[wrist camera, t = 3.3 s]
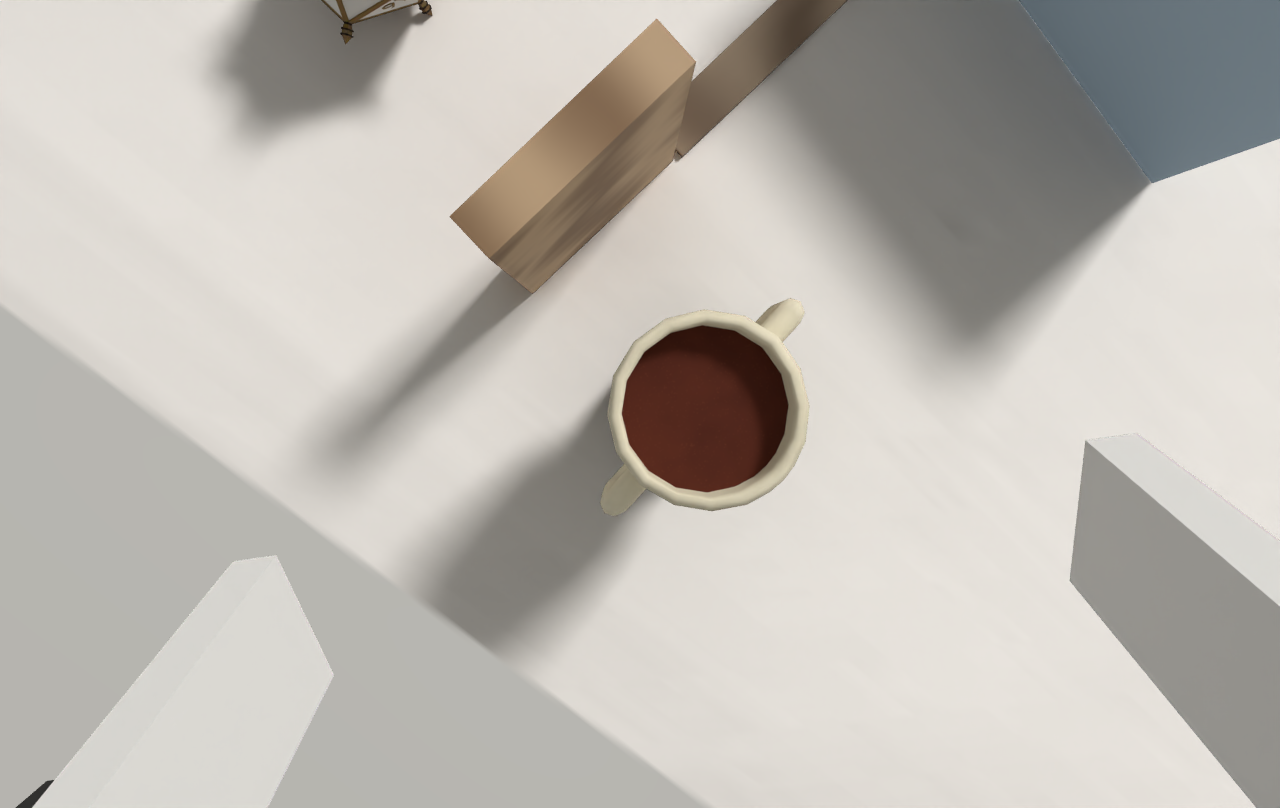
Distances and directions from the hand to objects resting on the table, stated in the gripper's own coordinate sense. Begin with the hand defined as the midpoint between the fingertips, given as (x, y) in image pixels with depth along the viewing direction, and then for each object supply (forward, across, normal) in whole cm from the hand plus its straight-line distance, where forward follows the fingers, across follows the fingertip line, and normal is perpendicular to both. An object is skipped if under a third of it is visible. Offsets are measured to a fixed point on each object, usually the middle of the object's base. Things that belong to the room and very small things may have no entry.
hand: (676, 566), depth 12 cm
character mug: (+25, 0, -9) cm, 26 cm away
